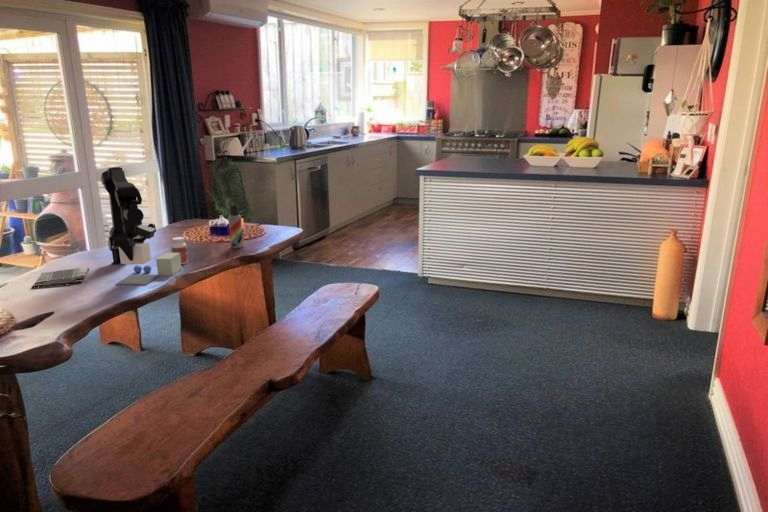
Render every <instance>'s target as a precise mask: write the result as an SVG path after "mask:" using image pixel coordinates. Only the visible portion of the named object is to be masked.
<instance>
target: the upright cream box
mask: <svg viewBox="0 0 768 512" xmlns="http://www.w3.org/2000/svg"><path fill="white" fill-rule="evenodd" d="M134 244H136V245H135V246H134V247H133V261H130V260H129V259H128V257H127V256H126V254H125V253H124V252H123V251H122V249H121V248H120V247H119V254H120V261H121V264H120V265H145V264H147V263H149V262H150V261H151V260H152V258H151V249H150V243H149V242H144V243H134Z"/></svg>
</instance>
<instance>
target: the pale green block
mask: <svg viewBox="0 0 768 512" xmlns="http://www.w3.org/2000/svg"><path fill="white" fill-rule="evenodd" d="M182 265H183V264H182ZM182 265H181V256H180V253H172V252H165V253H163V254H161V255H160V256H158V257H156V267H157V275H160V276H170V277H171V276H172V275H173V276H174V275H176V274H178V273H179V272H180V271H181V270H182V269H183V267H182ZM180 269H181V270H180ZM179 270H180V271H179ZM175 273H176V274H175Z"/></svg>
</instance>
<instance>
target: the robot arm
mask: <svg viewBox="0 0 768 512" xmlns="http://www.w3.org/2000/svg"><path fill="white" fill-rule="evenodd" d="M100 181H101V185H103V188H104V189H105V190H106V192H107V193H108V197H109V207H110V215H111V223H112V227H111V228H110V230H109V232H108V233H109V236H108V239H107V240H108V242H107V245H108V246H107V247H108V249H109V251H110V252H111V253H112V262H111V265H122V264H121V261H120V254H119V247H120V248H121V249H122V251H123V252H124V253H125V254H126V256H127V257H128V259H129V260H130V261H133V247H134V246H135V245H136V244H134V243H145V241H146V240H148V239H149V240H150V239H151V238H154V237H155V234H156V232H157V228H156V224H155V223H151V222H150V223H149V224H143V219H144V213H143V211H142V210H141V209H140V208H139V206H138V205H142V202H143V198H142V195H141V192H140V190H139V189H138V188H137V187H136V185H134V183H132V182H129V181H128V179H127V177H126V174H125V171H124V170H123V168H122V167H120V166H117V167H116V166H114V167H108V168H107V170H105V171H104V172H102V173H101V177H100Z"/></svg>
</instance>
